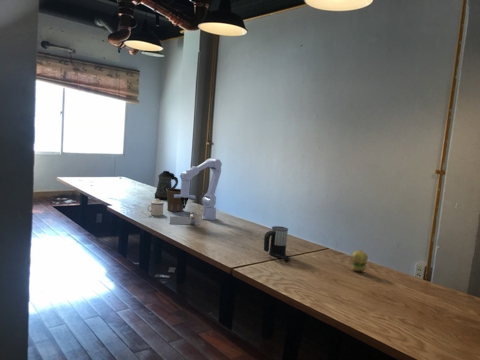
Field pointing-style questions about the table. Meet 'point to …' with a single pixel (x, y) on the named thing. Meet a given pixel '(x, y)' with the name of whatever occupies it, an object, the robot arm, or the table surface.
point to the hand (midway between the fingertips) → (184, 208)
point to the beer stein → (165, 185)
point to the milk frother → (276, 242)
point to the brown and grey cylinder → (192, 220)
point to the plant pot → (174, 200)
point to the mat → (183, 220)
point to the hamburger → (359, 260)
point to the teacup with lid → (156, 208)
